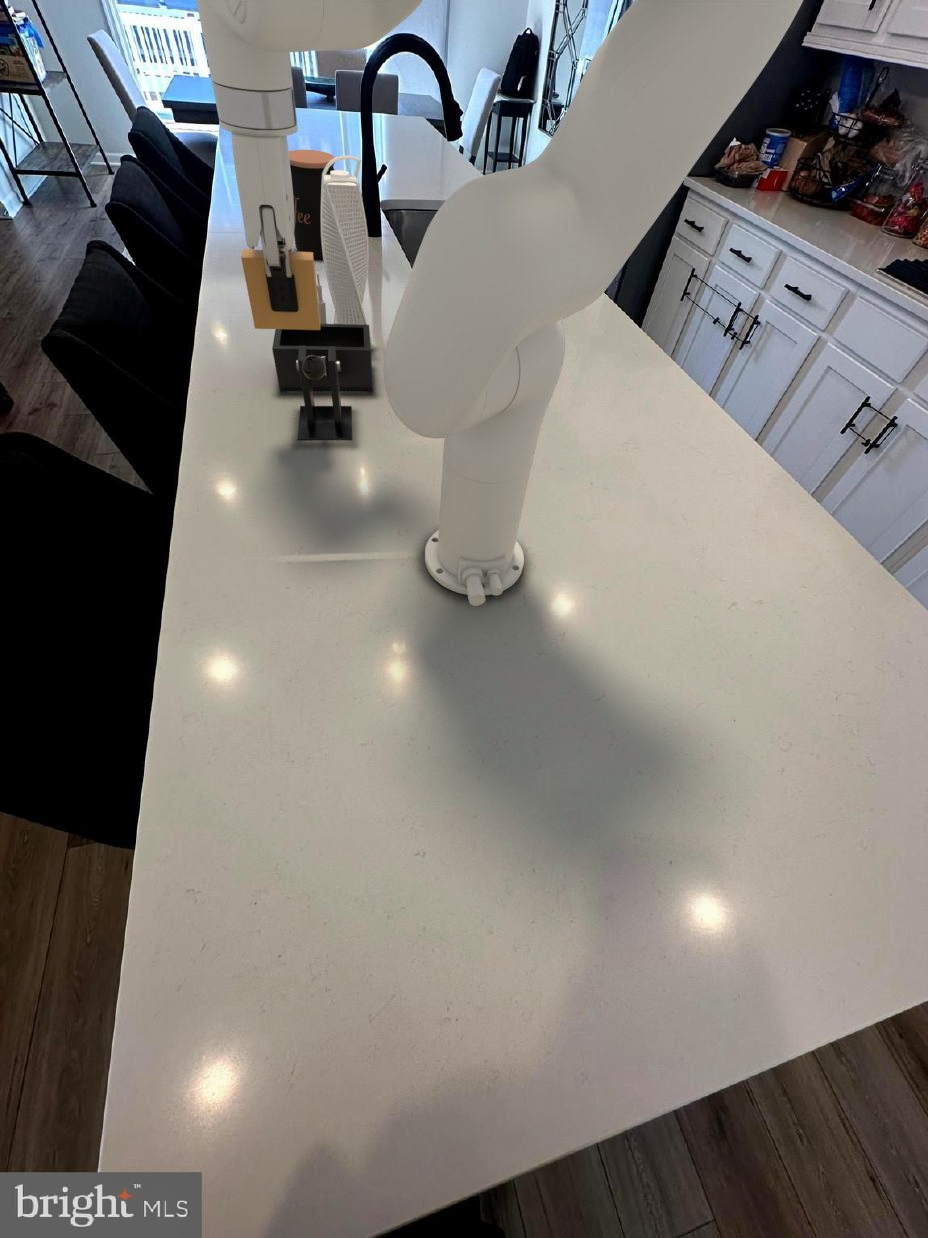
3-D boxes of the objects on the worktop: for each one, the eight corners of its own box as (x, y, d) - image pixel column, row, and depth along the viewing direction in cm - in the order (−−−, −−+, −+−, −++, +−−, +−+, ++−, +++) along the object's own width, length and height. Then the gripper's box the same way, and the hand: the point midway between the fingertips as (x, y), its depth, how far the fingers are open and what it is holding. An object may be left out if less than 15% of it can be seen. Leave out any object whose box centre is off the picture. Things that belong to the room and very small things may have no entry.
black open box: (373, 396, 94) (370, 350, 88) (280, 395, 92) (272, 348, 86) (371, 369, 100) (369, 324, 94) (284, 368, 97) (276, 322, 91)
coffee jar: (291, 245, 133) (277, 149, 120) (334, 242, 137) (326, 148, 123) (302, 262, 128) (290, 163, 114) (348, 259, 131) (341, 162, 117)
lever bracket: (352, 445, 85) (346, 369, 76) (298, 445, 84) (285, 368, 75) (352, 412, 90) (346, 338, 81) (301, 412, 89) (289, 337, 80)
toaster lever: (326, 381, 72) (323, 355, 70) (302, 380, 71) (299, 354, 70) (330, 376, 81) (329, 353, 80) (309, 376, 81) (307, 353, 80)
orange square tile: (320, 330, 71) (312, 260, 65) (254, 328, 70) (240, 257, 64) (320, 321, 73) (313, 251, 67) (256, 319, 72) (242, 248, 65)
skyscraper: (349, 334, 107) (335, 148, 86) (382, 348, 105) (376, 160, 83) (318, 349, 103) (295, 156, 81) (352, 364, 100) (338, 169, 78)
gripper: (225, 88, 60) (259, 277, 74) (206, 124, 50) (249, 334, 64) (298, 94, 61) (317, 279, 75) (292, 131, 51) (316, 336, 65)
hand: (285, 303), depth 70 cm, fingers closed on orange square tile, 2 cm apart
